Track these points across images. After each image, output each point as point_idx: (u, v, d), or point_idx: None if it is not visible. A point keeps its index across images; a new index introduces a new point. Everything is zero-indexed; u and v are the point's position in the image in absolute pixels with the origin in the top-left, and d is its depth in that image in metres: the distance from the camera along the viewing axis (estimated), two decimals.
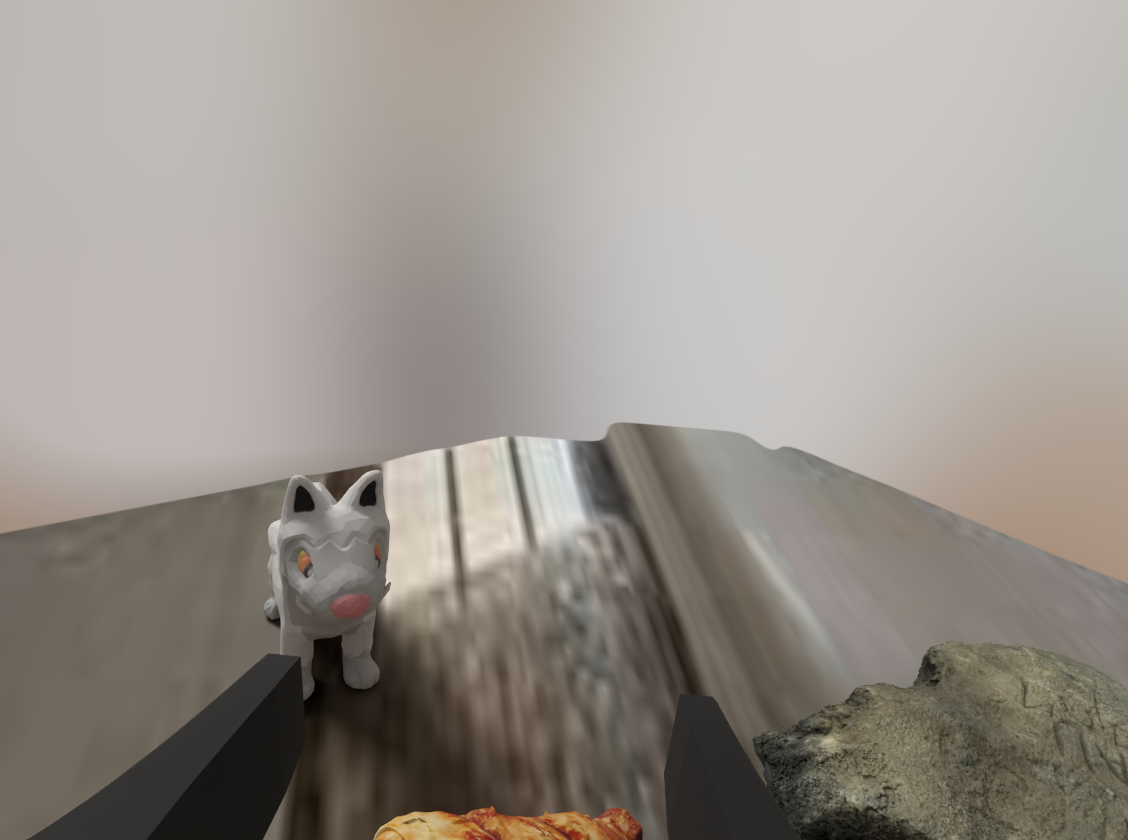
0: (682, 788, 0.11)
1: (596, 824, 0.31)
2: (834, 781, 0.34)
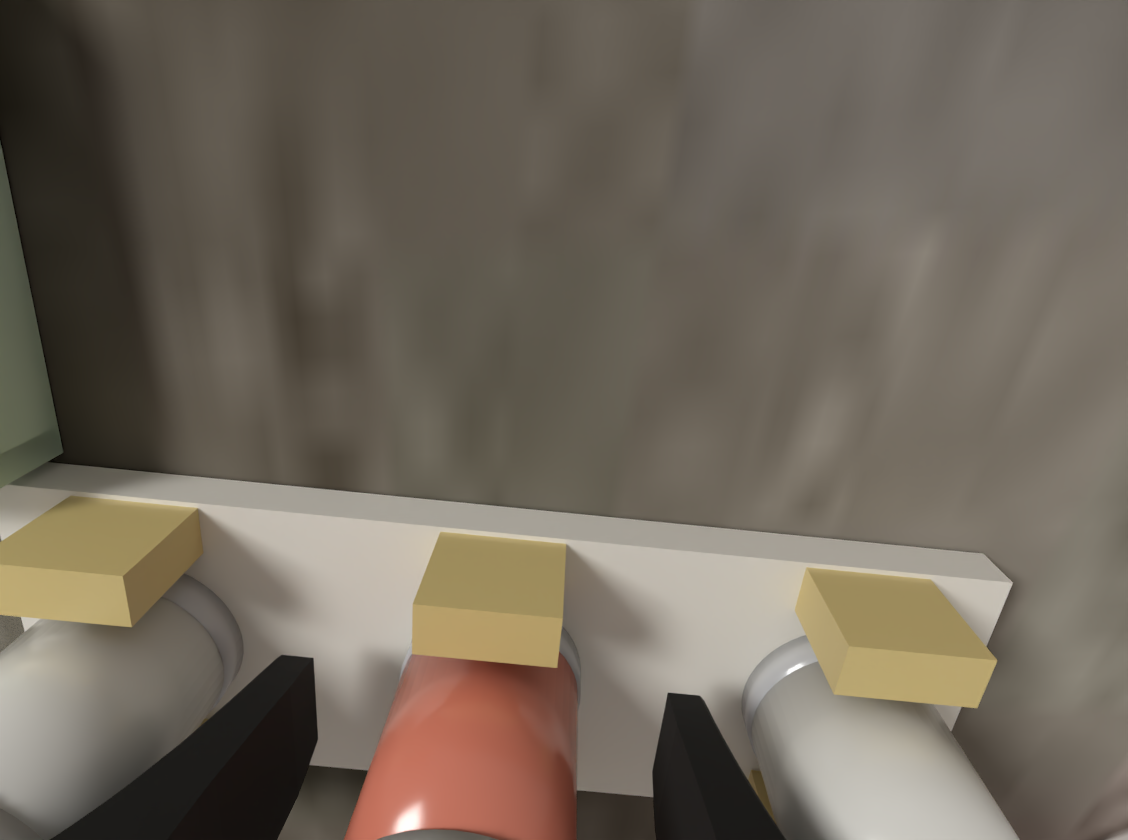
0: (669, 787, 0.11)
1: None
2: None
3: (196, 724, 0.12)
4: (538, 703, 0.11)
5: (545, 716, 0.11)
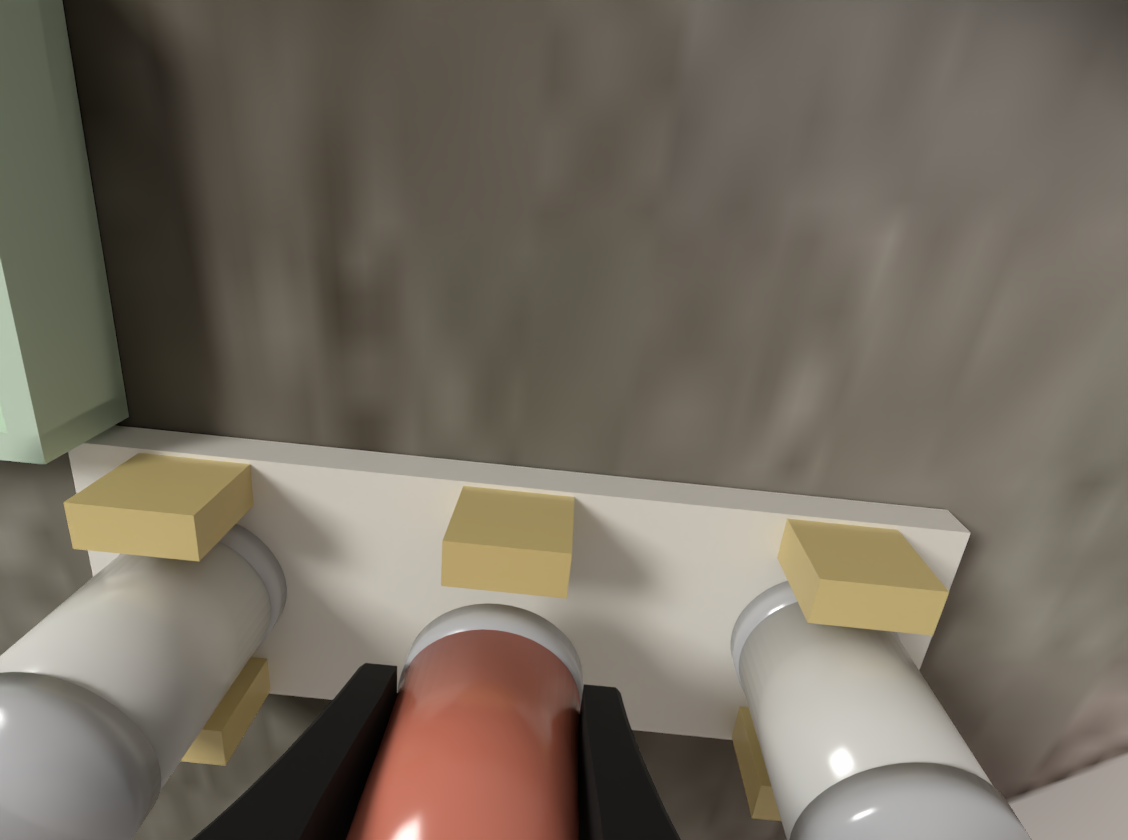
0: (579, 778, 0.11)
1: None
2: None
3: (249, 653, 0.14)
4: (539, 715, 0.11)
5: (546, 728, 0.11)
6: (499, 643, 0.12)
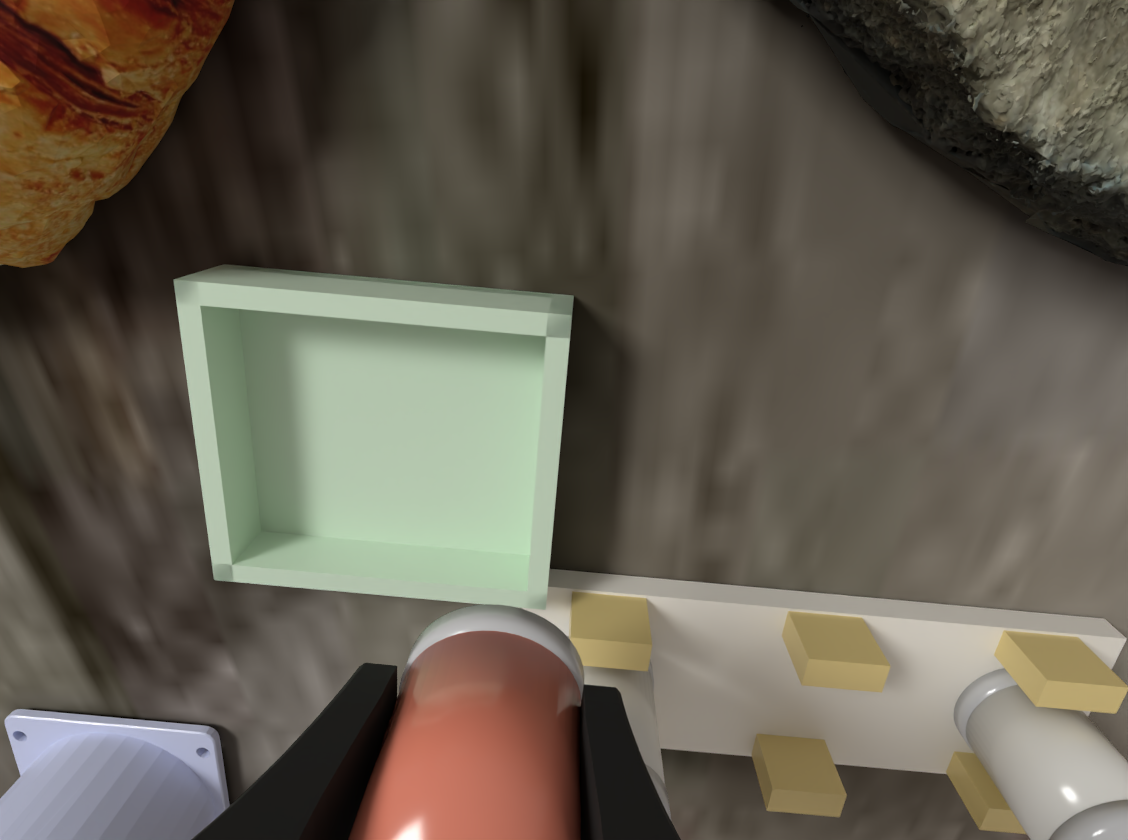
0: None
1: None
2: None
3: None
4: (539, 715, 0.11)
5: (547, 728, 0.11)
6: (498, 644, 0.12)
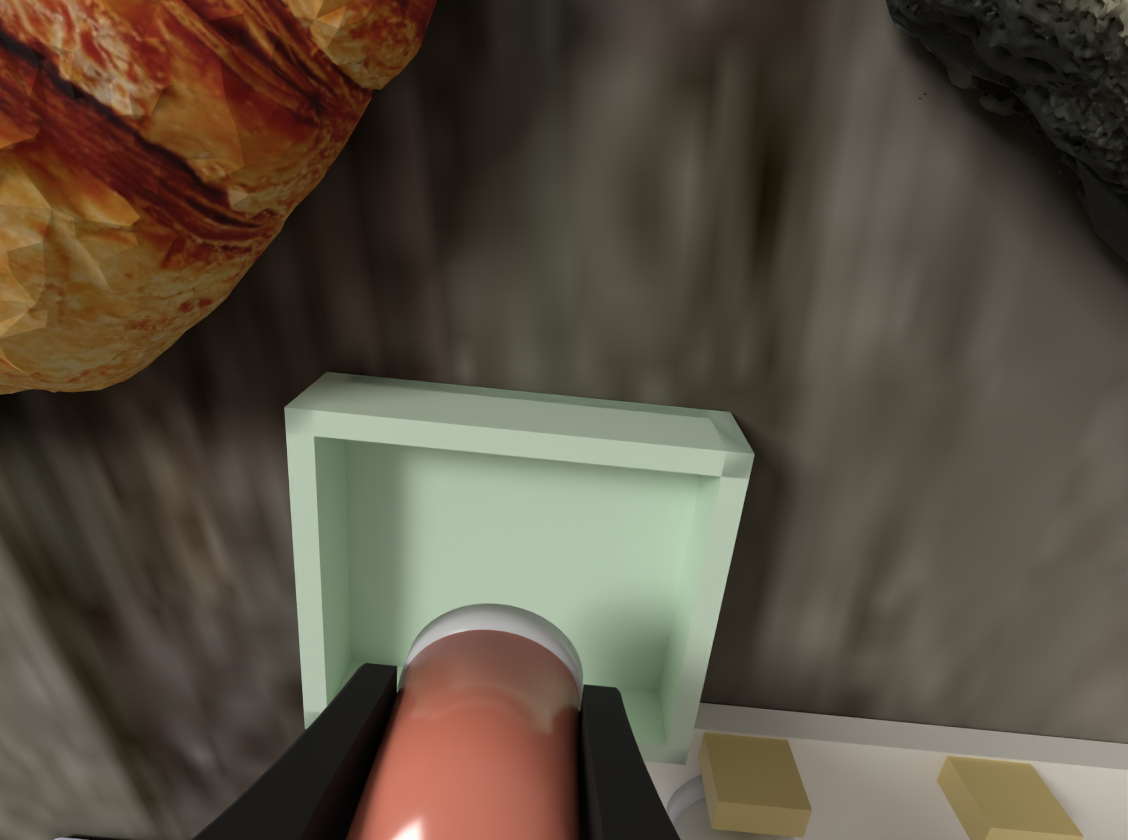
0: None
1: None
2: None
3: None
4: (537, 714, 0.11)
5: (545, 727, 0.11)
6: (496, 643, 0.12)
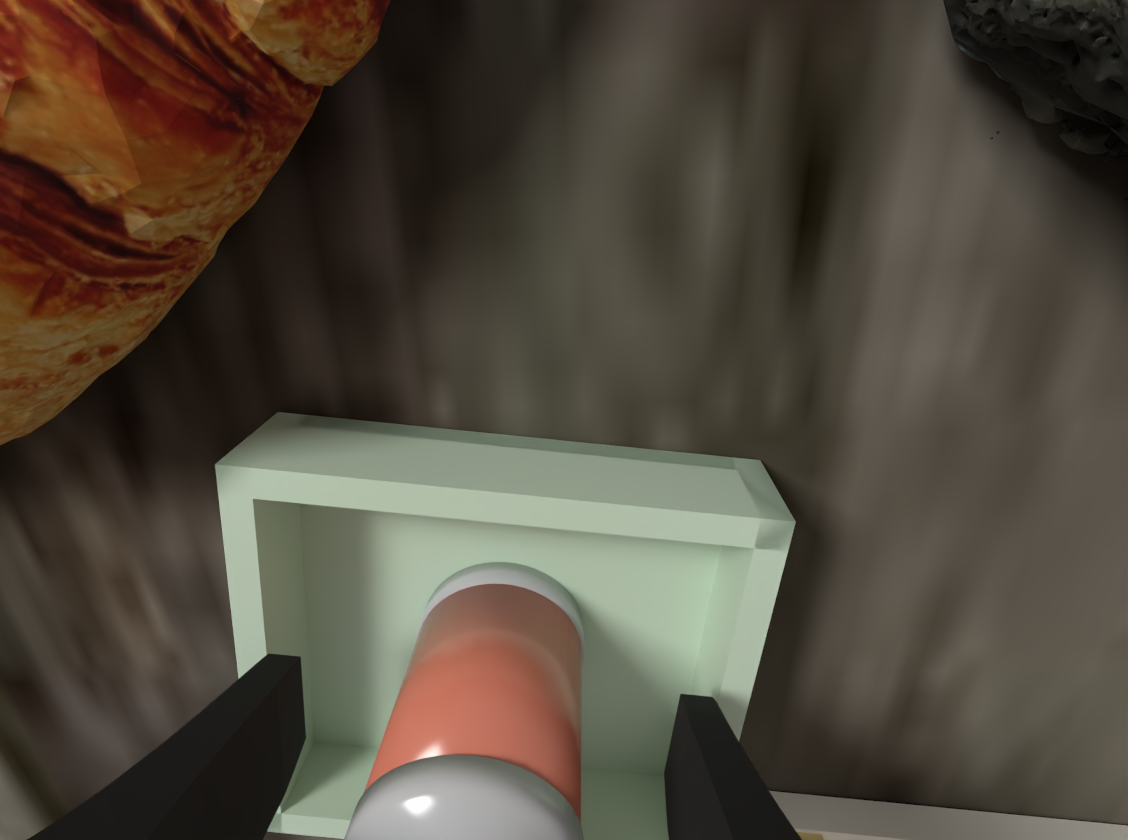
0: (682, 788, 0.11)
1: None
2: None
3: None
4: (544, 653, 0.12)
5: (550, 664, 0.12)
6: (506, 594, 0.13)
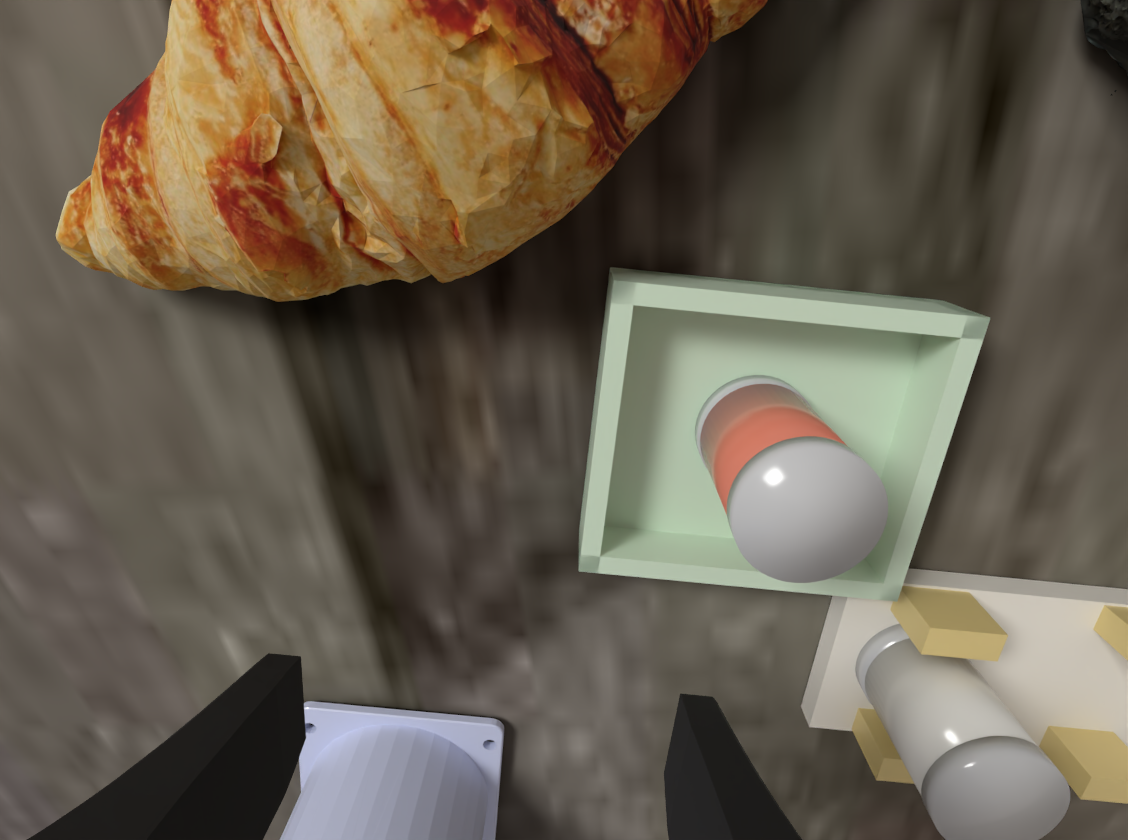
0: (682, 788, 0.11)
1: None
2: None
3: None
4: (816, 414, 0.18)
5: (822, 420, 0.18)
6: (775, 387, 0.19)
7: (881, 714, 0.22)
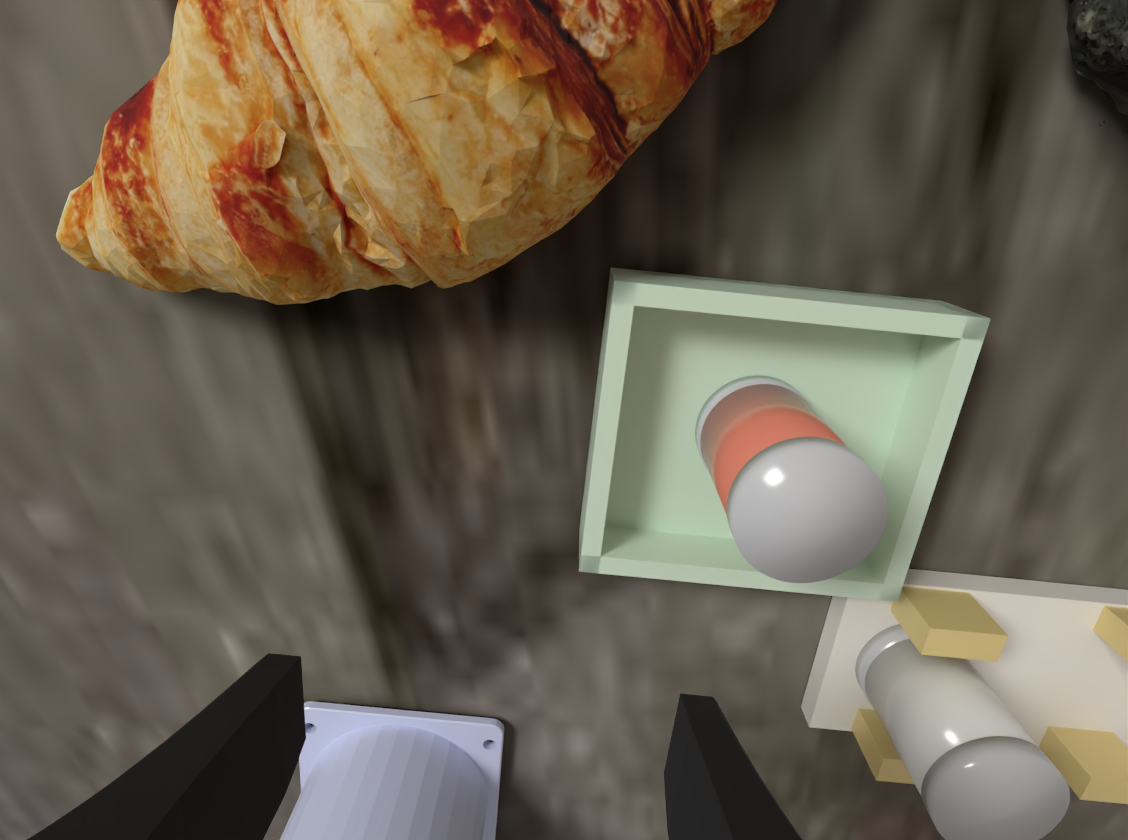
0: (682, 788, 0.11)
1: None
2: None
3: None
4: (816, 414, 0.18)
5: (822, 420, 0.18)
6: (775, 388, 0.19)
7: (881, 714, 0.22)
